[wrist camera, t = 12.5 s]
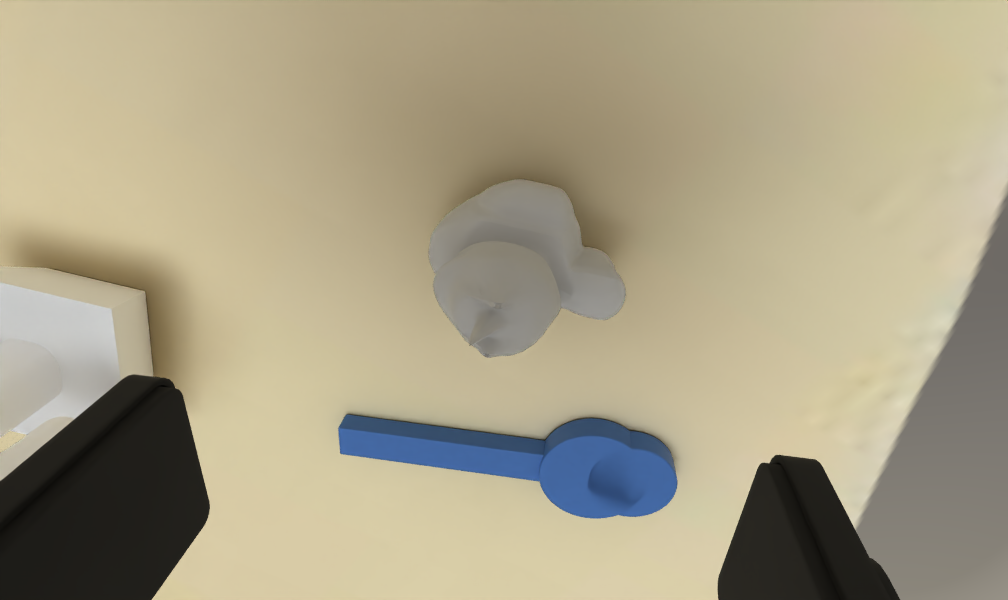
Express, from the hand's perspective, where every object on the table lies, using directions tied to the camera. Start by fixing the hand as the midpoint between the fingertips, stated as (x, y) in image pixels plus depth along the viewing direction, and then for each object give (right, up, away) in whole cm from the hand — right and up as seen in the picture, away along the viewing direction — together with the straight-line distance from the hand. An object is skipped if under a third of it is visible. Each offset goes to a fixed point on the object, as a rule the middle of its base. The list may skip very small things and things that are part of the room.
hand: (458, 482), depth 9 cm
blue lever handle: (+1, -4, +16) cm, 17 cm away
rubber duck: (+2, +5, +12) cm, 13 cm away
